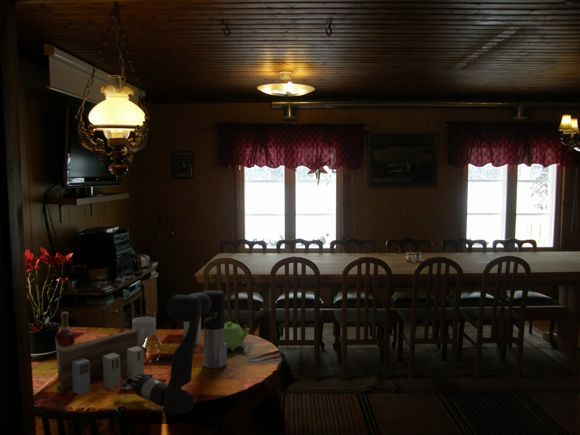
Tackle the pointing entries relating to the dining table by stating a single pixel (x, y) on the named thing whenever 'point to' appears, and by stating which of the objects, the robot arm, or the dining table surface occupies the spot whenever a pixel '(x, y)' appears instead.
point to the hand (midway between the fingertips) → (125, 376)
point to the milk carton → (186, 326)
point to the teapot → (234, 335)
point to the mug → (144, 328)
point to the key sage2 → (111, 370)
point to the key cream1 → (135, 361)
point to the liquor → (64, 338)
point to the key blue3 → (81, 375)
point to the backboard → (95, 357)
